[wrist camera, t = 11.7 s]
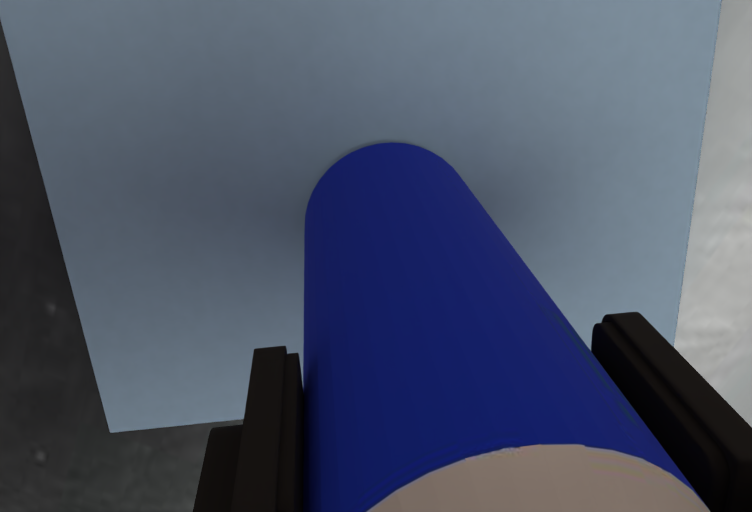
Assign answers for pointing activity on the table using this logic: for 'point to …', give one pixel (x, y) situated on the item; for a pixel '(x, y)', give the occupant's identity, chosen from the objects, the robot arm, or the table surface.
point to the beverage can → (452, 362)
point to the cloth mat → (336, 140)
